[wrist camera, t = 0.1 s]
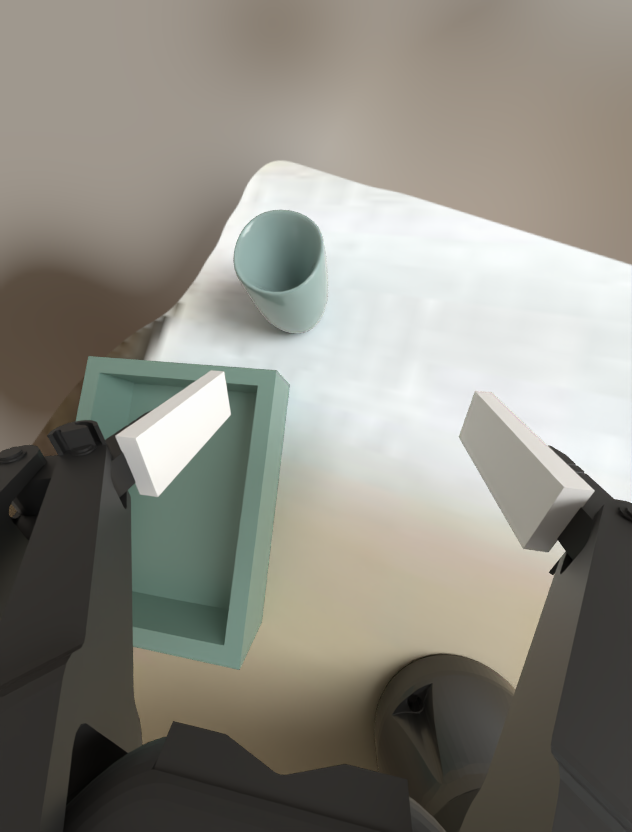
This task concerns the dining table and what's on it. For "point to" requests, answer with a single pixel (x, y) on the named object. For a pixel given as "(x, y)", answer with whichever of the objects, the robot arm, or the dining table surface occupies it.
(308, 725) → the dining table surface
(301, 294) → the cup
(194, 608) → the tray
